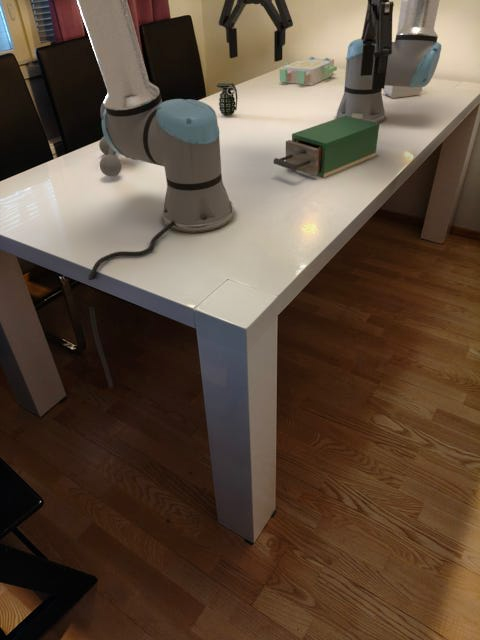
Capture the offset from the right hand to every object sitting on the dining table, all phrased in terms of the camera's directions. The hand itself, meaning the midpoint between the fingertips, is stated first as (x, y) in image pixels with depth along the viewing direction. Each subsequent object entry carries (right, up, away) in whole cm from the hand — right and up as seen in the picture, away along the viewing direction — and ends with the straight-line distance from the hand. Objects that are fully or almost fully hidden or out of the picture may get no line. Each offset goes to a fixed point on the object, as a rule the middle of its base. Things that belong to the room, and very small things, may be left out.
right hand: (371, 81), depth 115 cm
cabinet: (-6, -14, +15) cm, 21 cm away
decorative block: (-3, +46, +92) cm, 102 cm away
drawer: (-11, -16, +12) cm, 22 cm away
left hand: (-27, +11, +10) cm, 31 cm away
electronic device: (+29, +27, +65) cm, 76 cm away
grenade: (-35, +15, +54) cm, 66 cm away
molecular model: (-60, -12, +22) cm, 65 cm away
